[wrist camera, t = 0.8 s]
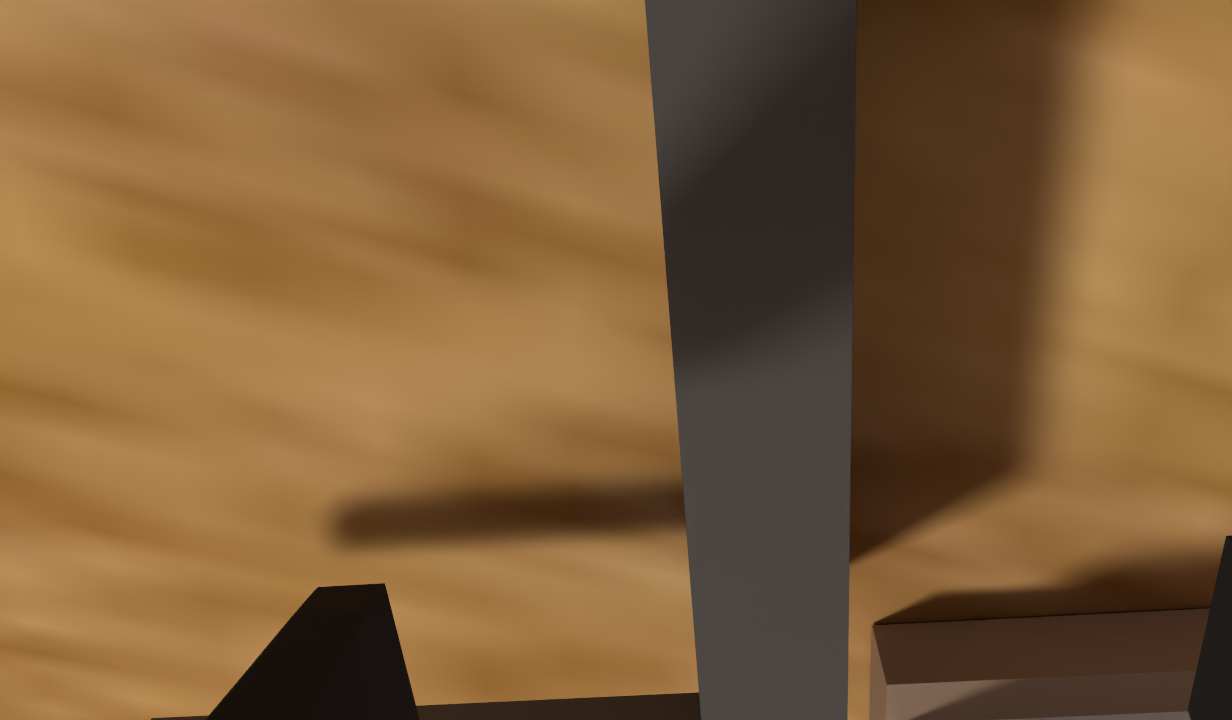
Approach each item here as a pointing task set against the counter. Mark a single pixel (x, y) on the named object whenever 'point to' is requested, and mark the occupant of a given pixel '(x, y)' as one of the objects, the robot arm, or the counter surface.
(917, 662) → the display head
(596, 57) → the counter surface
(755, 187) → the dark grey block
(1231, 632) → the robot arm
